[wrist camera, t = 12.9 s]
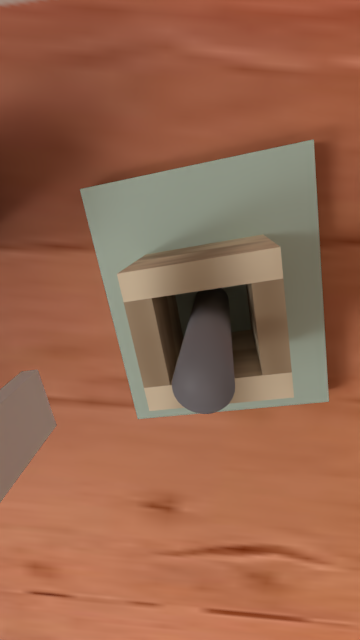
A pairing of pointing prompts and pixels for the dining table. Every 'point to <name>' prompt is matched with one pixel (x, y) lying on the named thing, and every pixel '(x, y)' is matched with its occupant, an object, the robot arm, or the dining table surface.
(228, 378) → the rod stand
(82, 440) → the dining table surface
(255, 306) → the wooden square ring
